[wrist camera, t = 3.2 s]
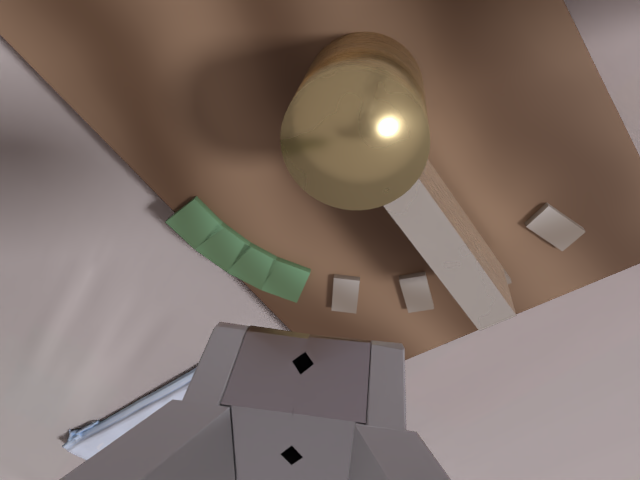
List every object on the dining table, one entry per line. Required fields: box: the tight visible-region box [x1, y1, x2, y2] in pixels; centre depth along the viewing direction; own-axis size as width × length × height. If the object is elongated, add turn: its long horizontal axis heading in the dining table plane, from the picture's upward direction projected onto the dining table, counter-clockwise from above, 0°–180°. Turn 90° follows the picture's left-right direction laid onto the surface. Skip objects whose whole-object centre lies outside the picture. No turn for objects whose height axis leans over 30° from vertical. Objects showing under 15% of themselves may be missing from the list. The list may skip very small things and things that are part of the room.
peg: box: [280, 32, 516, 331], centre depth 18 cm, size 11×4×5 cm, turn 38°
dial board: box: [0, 0, 640, 360], centre depth 20 cm, size 18×25×2 cm
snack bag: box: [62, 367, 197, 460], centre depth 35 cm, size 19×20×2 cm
